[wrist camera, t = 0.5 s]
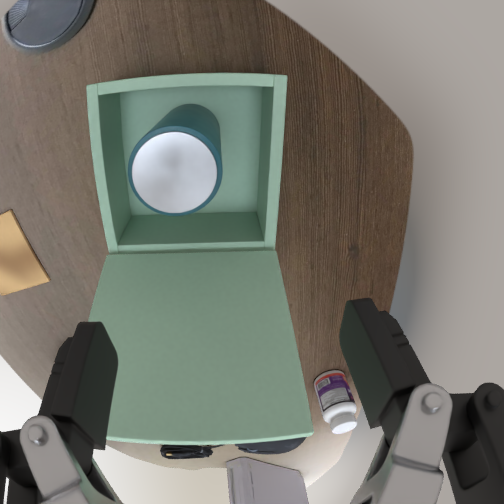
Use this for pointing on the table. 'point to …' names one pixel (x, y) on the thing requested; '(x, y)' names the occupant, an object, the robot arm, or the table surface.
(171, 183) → the can
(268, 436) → the cool box lid
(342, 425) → the pill bottle
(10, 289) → the coaster
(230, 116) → the cool box
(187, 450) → the computer mouse
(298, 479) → the game console
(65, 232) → the table surface
